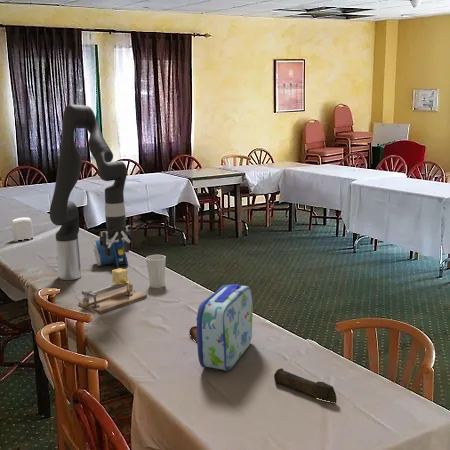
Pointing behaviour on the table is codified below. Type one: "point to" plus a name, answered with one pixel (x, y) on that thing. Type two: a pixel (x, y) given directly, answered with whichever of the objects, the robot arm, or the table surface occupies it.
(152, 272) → the cup
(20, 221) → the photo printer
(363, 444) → the table surface
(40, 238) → the table surface
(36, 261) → the table surface
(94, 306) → the board
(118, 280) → the sliding block
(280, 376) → the hand tool
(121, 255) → the blue piece
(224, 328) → the lunch box
